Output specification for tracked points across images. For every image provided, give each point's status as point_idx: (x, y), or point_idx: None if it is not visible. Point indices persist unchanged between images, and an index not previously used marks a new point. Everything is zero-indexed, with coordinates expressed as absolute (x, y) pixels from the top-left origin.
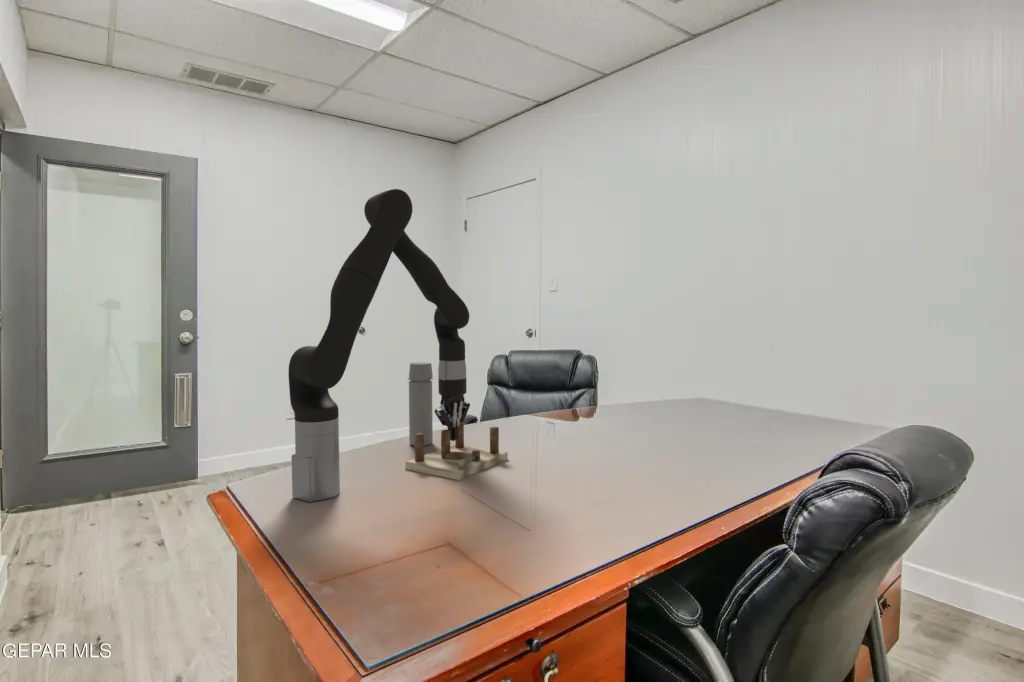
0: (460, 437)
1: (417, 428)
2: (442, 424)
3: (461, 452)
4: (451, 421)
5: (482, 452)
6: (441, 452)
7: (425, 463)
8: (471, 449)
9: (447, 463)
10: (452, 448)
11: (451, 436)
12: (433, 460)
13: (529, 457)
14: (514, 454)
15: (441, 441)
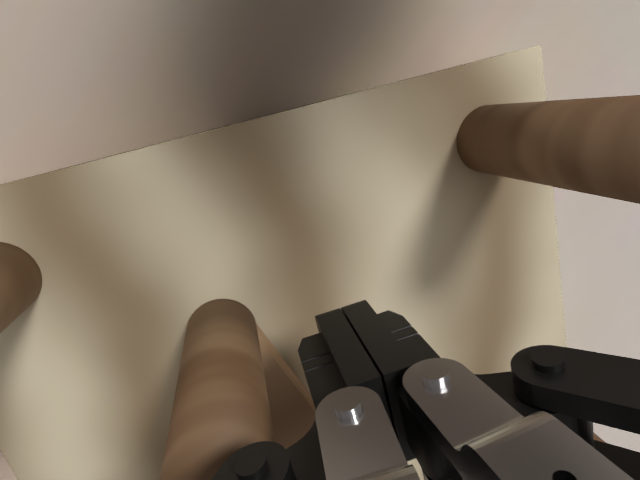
0: (524, 178)
1: None
2: (221, 477)
3: (308, 417)
4: (427, 426)
5: (483, 359)
6: (184, 342)
7: (5, 369)
8: (491, 256)
9: (147, 449)
10: (422, 137)
11: (311, 396)
12: (103, 335)
13: (629, 437)
14: (634, 354)
15: (174, 399)
